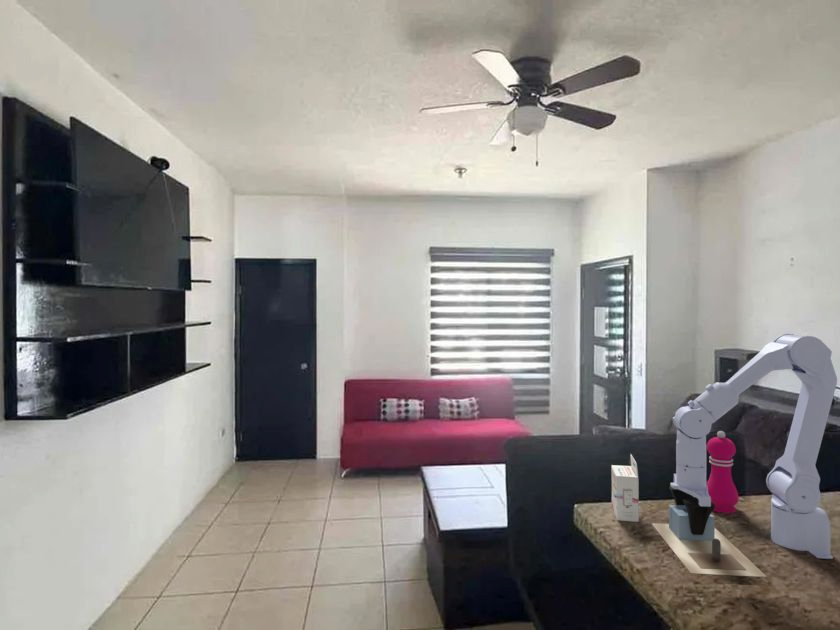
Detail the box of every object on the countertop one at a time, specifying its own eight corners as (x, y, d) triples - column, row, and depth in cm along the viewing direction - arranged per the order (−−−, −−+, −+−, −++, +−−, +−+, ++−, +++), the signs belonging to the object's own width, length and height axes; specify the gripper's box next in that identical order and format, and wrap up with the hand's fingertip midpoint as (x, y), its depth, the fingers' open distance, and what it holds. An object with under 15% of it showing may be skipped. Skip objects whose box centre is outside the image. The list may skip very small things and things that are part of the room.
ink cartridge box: (610, 512, 128) (610, 452, 127) (632, 513, 127) (632, 453, 126) (616, 526, 119) (616, 462, 119) (639, 528, 118) (639, 463, 118)
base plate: (712, 532, 116) (712, 506, 116) (766, 585, 94) (767, 552, 94) (651, 529, 118) (651, 503, 117) (690, 581, 96) (691, 549, 96)
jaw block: (702, 528, 114) (702, 506, 114) (714, 540, 108) (714, 516, 108) (668, 527, 115) (668, 504, 115) (678, 539, 109) (679, 515, 109)
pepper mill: (697, 508, 130) (697, 427, 129) (725, 507, 130) (725, 427, 130) (716, 520, 122) (716, 435, 122) (745, 519, 123) (746, 434, 123)
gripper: (659, 453, 119) (659, 513, 119) (684, 474, 105) (684, 541, 105) (692, 454, 118) (692, 514, 119) (722, 475, 104) (721, 543, 104)
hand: (690, 527), depth 112 cm, fingers closed on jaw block, 6 cm apart
